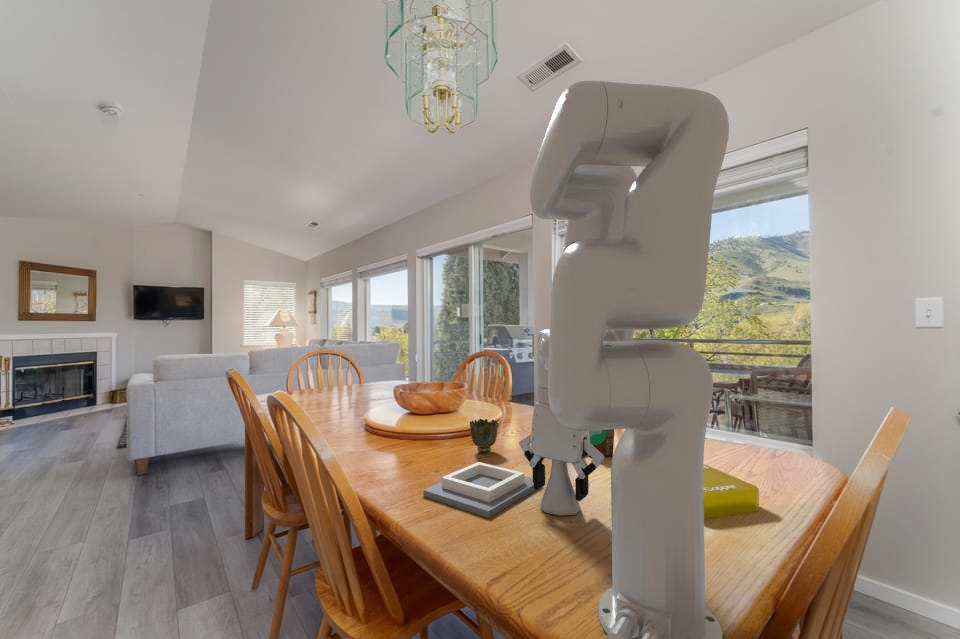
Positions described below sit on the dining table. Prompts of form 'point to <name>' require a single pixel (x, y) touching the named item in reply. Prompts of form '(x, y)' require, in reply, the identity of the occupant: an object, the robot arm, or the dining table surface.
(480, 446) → the cup
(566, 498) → the flask
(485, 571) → the dining table surface
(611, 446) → the food container
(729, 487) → the element tile
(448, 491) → the collar board
